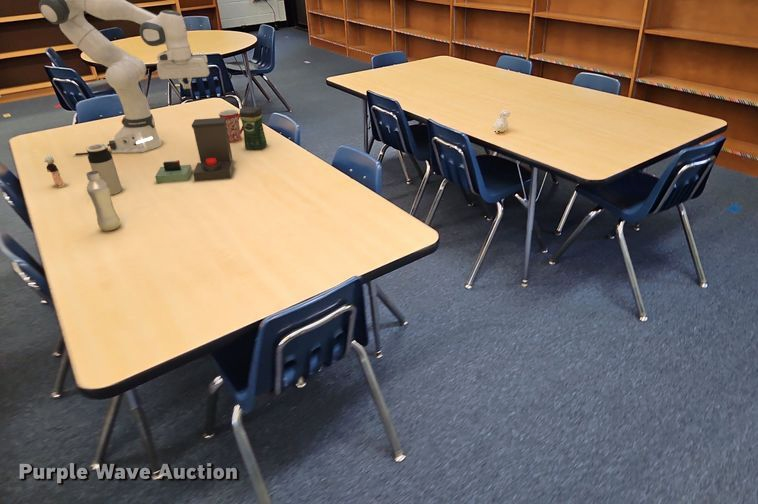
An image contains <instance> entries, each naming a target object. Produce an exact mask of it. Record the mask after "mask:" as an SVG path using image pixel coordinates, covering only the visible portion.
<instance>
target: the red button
mask: <svg viewBox="0 0 758 504" xmlns="http://www.w3.org/2000/svg"><path fill="white" fill-rule="evenodd" d="M206 164H207V166H213V165H216V164H217V161H216V158H208V159H206Z"/></svg>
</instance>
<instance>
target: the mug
mask: <svg viewBox="0 0 758 504" xmlns="http://www.w3.org/2000/svg"><path fill="white" fill-rule="evenodd" d="M218 117H219V118H224V117H226V126H227V132H228V137H229V142H230V143H237V142H240V141H241V140H242V133H243V132H244V131H243V125H242V126H240V112H239V110H237V109H225V110H221V111H219V112H218ZM240 127H241V128H240Z"/></svg>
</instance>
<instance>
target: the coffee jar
mask: <svg viewBox="0 0 758 504" xmlns="http://www.w3.org/2000/svg"><path fill="white" fill-rule="evenodd" d="M239 113H240V118H239V120H240V121H241V124H242V126H243V131H242V132H243V141H244V148H245V149H246V150H254V151H255V150H263V149H265V148H266V147H267V145H268V144H267V143H268V141H267V138H266V134H265V129H264V126H263V121H262V120H263V111H262V109H261V107H260V106H243V107H241V108H240V109H239Z"/></svg>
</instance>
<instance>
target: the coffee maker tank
mask: <svg viewBox="0 0 758 504" xmlns="http://www.w3.org/2000/svg"><path fill="white" fill-rule="evenodd" d="M191 128H192V129H193V134H194V139H195V143H196V148H197V152H198V157H199V161H200V163H203V162H206V159H208V158H216V161H229V160H232V163H233V164H234V159H233V154H232V149H231V142H229V137H228V132H227V126H226V117H224V118H220V117H213V118H198V119H193V122H192V124H191Z"/></svg>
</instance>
